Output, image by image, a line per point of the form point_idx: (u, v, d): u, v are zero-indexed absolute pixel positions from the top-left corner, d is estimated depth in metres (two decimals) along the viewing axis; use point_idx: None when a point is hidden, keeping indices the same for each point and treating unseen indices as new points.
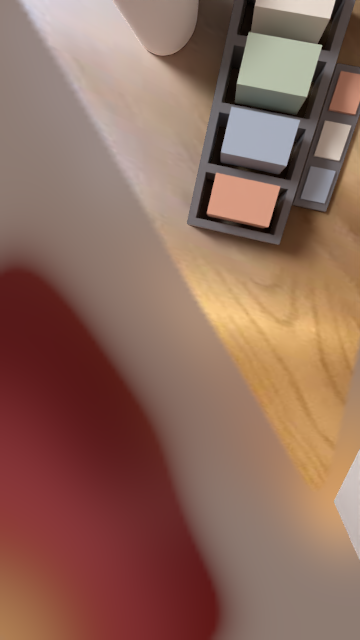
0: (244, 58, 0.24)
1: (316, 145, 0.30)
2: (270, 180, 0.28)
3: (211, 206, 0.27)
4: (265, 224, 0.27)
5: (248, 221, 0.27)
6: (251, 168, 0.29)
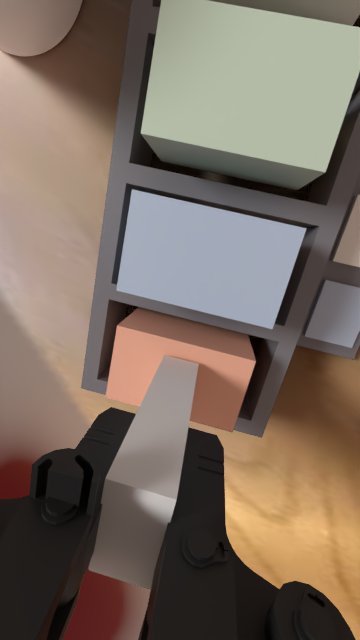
0: (155, 67, 0.09)
1: (338, 241, 0.15)
2: (241, 323, 0.13)
3: (114, 386, 0.13)
4: (226, 427, 0.13)
5: (190, 419, 0.13)
6: None
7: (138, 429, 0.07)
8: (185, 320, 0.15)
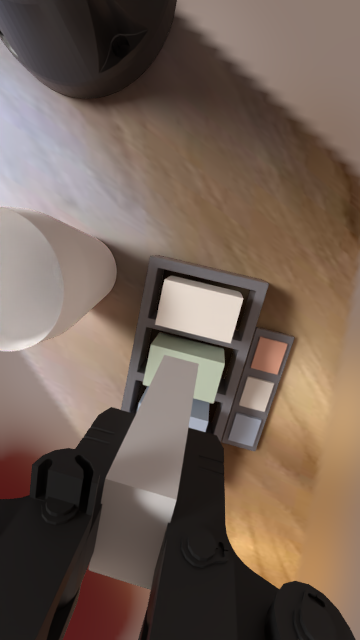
0: (148, 365, 0.23)
1: (241, 395, 0.29)
2: None
3: None
4: None
5: None
6: None
7: (138, 429, 0.07)
8: None
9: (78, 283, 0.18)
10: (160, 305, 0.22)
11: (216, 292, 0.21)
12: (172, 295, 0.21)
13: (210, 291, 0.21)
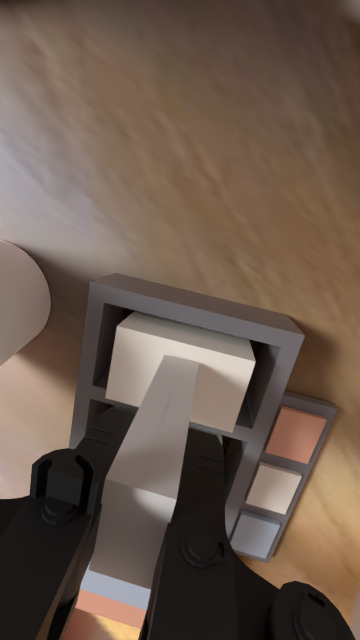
0: None
1: (249, 488, 0.19)
2: None
3: (79, 601, 0.18)
4: None
5: (133, 625, 0.18)
6: None
7: (138, 429, 0.07)
8: None
9: None
10: (112, 368, 0.13)
11: (207, 350, 0.12)
12: (132, 352, 0.12)
13: (197, 348, 0.12)
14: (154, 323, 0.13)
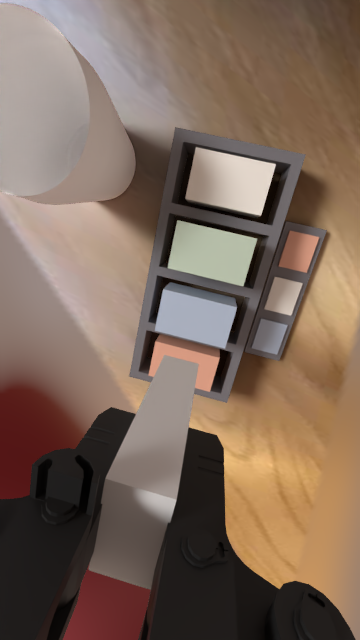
0: (174, 245, 0.22)
1: (267, 298, 0.27)
2: None
3: (153, 370, 0.27)
4: (206, 389, 0.27)
5: None
6: None
7: (138, 429, 0.07)
8: None
9: (104, 119, 0.16)
10: (191, 177, 0.22)
11: (248, 159, 0.21)
12: (203, 164, 0.21)
13: (242, 158, 0.21)
14: None
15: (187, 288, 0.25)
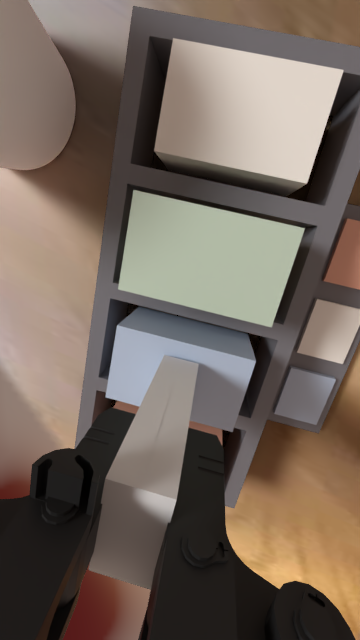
0: (129, 243, 0.10)
1: (302, 335, 0.16)
2: None
3: None
4: None
5: None
6: None
7: (138, 429, 0.07)
8: None
9: None
10: (164, 104, 0.11)
11: (284, 61, 0.10)
12: (190, 77, 0.10)
13: (271, 59, 0.10)
14: None
15: (166, 318, 0.14)
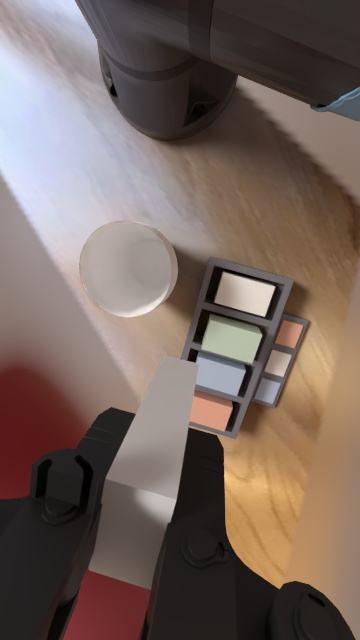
0: (207, 335, 0.32)
1: (266, 364, 0.38)
2: (228, 396, 0.37)
3: None
4: (222, 429, 0.37)
5: (210, 426, 0.37)
6: None
7: (138, 429, 0.07)
8: None
9: (175, 273, 0.27)
10: (219, 289, 0.33)
11: (257, 282, 0.32)
12: (228, 283, 0.32)
13: (253, 281, 0.32)
14: (233, 274, 0.34)
15: None
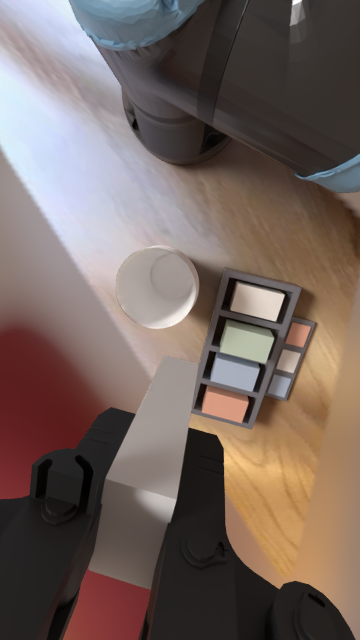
0: (225, 339, 0.37)
1: (278, 362, 0.42)
2: (244, 391, 0.41)
3: (205, 408, 0.42)
4: (239, 421, 0.41)
5: (228, 419, 0.42)
6: None
7: (138, 429, 0.07)
8: None
9: (197, 289, 0.31)
10: (234, 299, 0.37)
11: (268, 291, 0.36)
12: (242, 293, 0.36)
13: (265, 290, 0.36)
14: (247, 284, 0.38)
15: None
